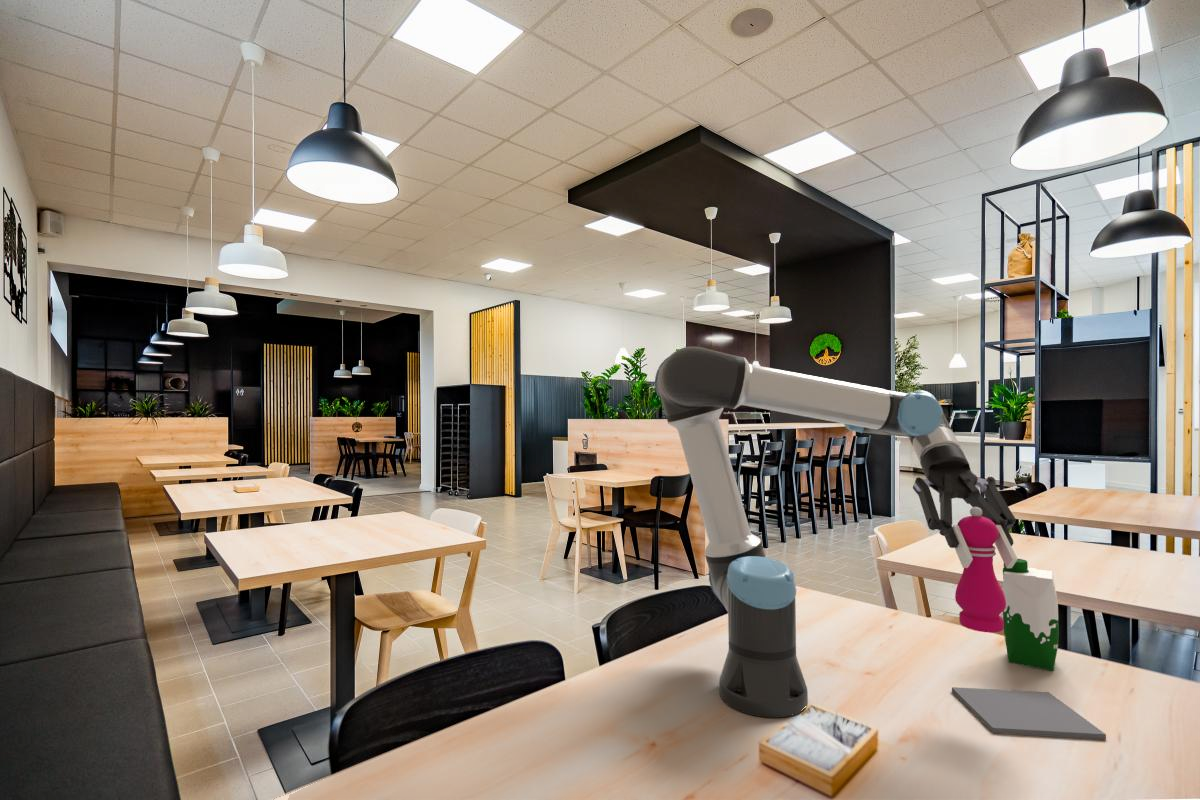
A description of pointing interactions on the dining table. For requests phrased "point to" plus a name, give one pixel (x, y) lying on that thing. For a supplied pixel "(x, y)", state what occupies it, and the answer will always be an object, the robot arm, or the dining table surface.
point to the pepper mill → (980, 577)
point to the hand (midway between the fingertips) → (989, 563)
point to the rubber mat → (1026, 713)
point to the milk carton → (1030, 616)
